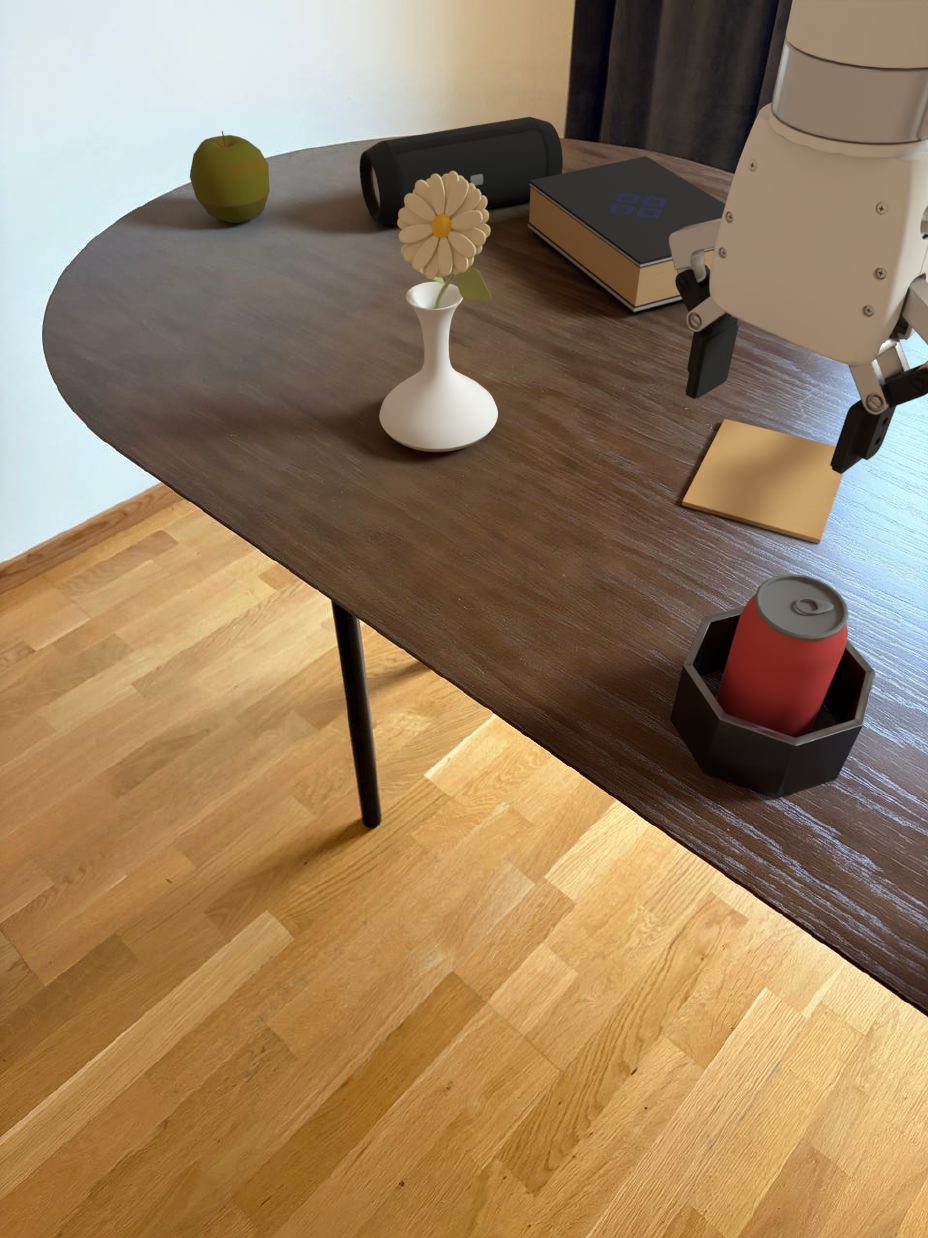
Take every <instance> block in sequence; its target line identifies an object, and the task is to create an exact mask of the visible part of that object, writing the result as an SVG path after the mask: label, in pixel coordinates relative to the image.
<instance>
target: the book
mask: <svg viewBox="0 0 928 1238" xmlns="http://www.w3.org/2000/svg"><path fill="white" fill-rule="evenodd" d="M529 181H530V182H529V186H530V187H531V190H530V200H529V216H528V217H529V218H528V222H527V226H526V227H527V228H528V229H530V231H532V232H533V233H534V234H536V235H537V236H538V237H540V239H542V240H543V241H544V242H545V243H546V244H548V245H549V246H551V247H552V248H553V249H554V250H556V251H557V252H558V253H559V254H561V255H562V256H563V257H564V258H565V259H567V260H568V261H569V262H570V263H572V264H573V265H574V266H576V268H578V269H579V270H580V271H582V273H584V274H585V275H586V276H588V277H589V278H590V279H591V280H593V281H594V282H595V283H597V284H598V285H599V286H600V287H601V288H603V289H604V290H605V291H607V293H609V294H610V295H611V296H613V297H614V298H615V299H616V300H618V302H620V303H621V304H623V305H624V306H625V307H626V308H628V309H629V310H630V311H631V312H633V313H637V312H642V311H645V310H648V309H653V308H657V307H661V306H664V305H667V304H672V303H675V302H678V301H683V300H682V298H681V296H680V293H679V291H678V289H677V287H676V284H675V280H676V276H677V275H678V273H677V270H675V268H674V264H673V259H672V255H671V250H670V246H669V236H670V235H671V234H672V233H674V232H676V231H678V230H680V229H682V228H684V227H686V226H690V225H694V224H698V223H703V222H707V221H711V220H715V219H720V218H722V215H723V212H724V208H725V204H726V203H725V202H723V201H721V200H719V199H718V198H716V197H714V196H713V195H711V194H709V192H706V191H705V190H703V189H701V188H700V187H698V186H696V185H694V184H693V183H691V182H690V181H688V180H687V179H685V178H683V177H682V176H680V175H678V174H676V173H675V172H673V171H671V170H670V169H668V168H666V167H665V166H663V165H661V164H660V163H658V162H656V161H654V160H653V159H652V158H650V157H648V156H646V155H645V156H644V155H643V156H640V157H636V158H635V157H634V158H631V159H625V160H620V161H615V162H611V163H607V164H601V165H597V166H592V167H587V168H582V169H578V170H573V171H568V172H562V174H558V175H553V176H548V177H544V178H539V179H534V180H529ZM714 249H715V248H710V249H705V250H704V257H705V260H704V264H705V265H706V266H708V268H709V269H710V272H711V264H712V259H713V253H714Z"/></svg>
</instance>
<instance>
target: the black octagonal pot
mask: <svg viewBox="0 0 928 1238" xmlns="http://www.w3.org/2000/svg"><path fill="white" fill-rule="evenodd" d="M745 606H746V605H744V606H740V607H737V608H732V609H730V610H726V611H722V612H719V613H715V614H711V615H708V616H704V617H703V618H702V619H701V620H700V621H701V622H700V624H699V626H698V629H697V630H696V633H695V636H694V638H693V640H692V642H691V645H690V647H689V649H688V652H687V653H686V657H685V659H684V662H683V663H682V668H681V671H680V675H679V679H678V683H677V688H676V691H675V694H674V695H675V696H674V700H673V704H672V708H671V712H670V715H669V716H670V717H669V721H670V723H671V725H672V726H673V728H674V729H675V731H676V733H677V734H678V736H679V737H680V739H681V741H682V742H683V744H684V745H685V747H686V749H687V750H688V752H689V753H690V755H691V757H692V758H693V759H694V761H695V763H696V764H697V766H698V768H699V769H700V771H701V772H702V774H703V775H706V776H709V777H712V778H715V779H717V780H720V781H723V782H726V783H728V784H731V785H734V786H735V787H739V788H742V789H744V790H747V791H749V792H752V793H756V794H758V795H761V796H763V797H767V798H768V799H771V800H777V799H780V798H783V797H785V796H786V797H787V796H789V795H792V794H795V793H798V792H801V791H805V790H807V789H811V788H813V787H816V786H820V785H822V784H825V783H828V782H833V781H835V780H837V779H838V777H839V775H840V773H841V771H842V769H843V768H844V765H845V763H846V761H847V759H848V757H849V756H850V753H851V751H852V749H853V747H854V745H855V742H856V740H857V739H858V738H859V737H858V736H859V735H860V733H861V731H862V729H863V727H864V724H865V719H866V714H867V711H868V706H869V703H870V699H871V694H872V690H873V686H874V682H875V678H876V671H875V669H874V668H873V667H872V666H871V665H870V663H869V662H868V661H867V660H866V659H865V658H864V656H862V654H861V653H860V652H859V651H858V649H857V648H856V647H855V646H854V645H853V644H852V643H851V642H850V641H849V639H848V638H847V643H846V646H845V650H844V653H843V655H842V657H841V660H840V662H839V664H838V667H837V669H836V671H835V674H834V676H833V678H832V681H831V683H830V686H829V688H828V690H827V693H826V695H825V697H824V700H823V702H822V704H821V705H823V706H824V708H825V709H826V710H827V712H828V713H829V714H830V715H831V716H832V718H833V720H835V722H836V723H837V724H835V725H831V726H828V727H825V728H821V729H819V730H815V731H812V732H810V733H809V734H805V735H802V736H799V737H796V738H794V737H791V736H788V735H785V734H782V733H780V732H777V731H774V730H771V729H768V728H765V727H762V726H759V725H756V724H754V723H751V722H748V721H745V720H742V719H739V718H736V717H733V716H730V715H728V714H726V713H725V712H724V711H723V709H722V708H721V706H720V705H719V703H718V702H717V700H716V697H715V695H714V694H713V693H712V692H711V690H710V688H709V687H708V686H707V684H706V683H705V681H704V679H703V678H702V677H705V676H708V675H712V674H715V673H719V672H722V671H724V670H725V666H726V663H727V659H728V656H729V653H730V649H731V646H732V642H733V639H734V636H735V632H736V629H737V625H738V622H739V618H740V616H741V614H742V611H743V609H744V607H745Z"/></svg>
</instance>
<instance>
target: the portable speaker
mask: <svg viewBox="0 0 928 1238" xmlns="http://www.w3.org/2000/svg"><path fill="white" fill-rule="evenodd" d="M563 158H564V157H563V148H562V142H561V138H560V136H559V133H558V131H557V129H556V128H555V126H554V125H553V124H552V123H551V122H549V121H547V120H543V119H540V118H537V117H532V116H525V117H520V118H519V117H518V118H513V119H507V120H500V121H494V122H489V123H482V124H476V125H475V124H474V125H470V126H465V127H464V126H463V127H456V128H452V129H446V130H439V131H434V132H427V133H421V134H416V135H408V136H402V137H398V138H392V139H386V140H381V141H379V142H376V143H375V144H374V145H372V146H370V147H369V148H367V149H365V150H364V151H362V153H361V154H360V158H359V181H360V187H361V192H362V197H363V201H364V203H365V207H366V209H367V211H368V214H369V215H370V217H371V218H372V220H374V221H375V222H378V223H383V224H389V225H393V226H398V224H397V222H398V219H399V216H398V213H399V211H400V209H402V208H404V207H405V203H404V198H405V196H406V195H407V194H409V193H412V194H413V190H414V189H415V184H416V182H417V181H418V180H424V181H426V180H427V179H429V178H430V177H431V176H432V175H433V174H438V175H439V176H440V177H442V176H443V175H444V174H449V172H451V171H455V172H456V173H457V174H458V176H459V175H461V176H463V177H464V179H465V180H467V182H468V184H469V183H472V184H474V185H475V187H476V189H479V190H480V192H481V196H485V197H486V198H487V206H486V208H485V210H488V209H493V208H498V207H499V208H500V207H503V206H508V205H514V204H520V203H525V202H528V201H529V202H530V190H531V187H530V186H529V182H530V181H529V180H534V179H539V178H544V177H548V176H553V175H558V174H563V167H564V166H563V165H564V159H563Z"/></svg>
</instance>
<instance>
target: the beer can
mask: <svg viewBox="0 0 928 1238" xmlns="http://www.w3.org/2000/svg"><path fill="white" fill-rule="evenodd" d="M744 606H745V607H744ZM744 606H743V607H744V609H743V611H742V614H741V616H740V618H739V622H738V625H737V629H736V632H735V636H734V639H733V642H732V646H731V649H730V653H729V656H728V659H727V663H726V666H725V670H723V674H722V677H721V679H720V684H719V687H718V691H717V694H716V697H715V699H716V700H717V702H718V703H719V705H720V706H721V708H722V709H723V711H724V712H725V713H726V714H728V715H730V716H733V717H736V718H739V719H742V720H745V721H748V722H751V723H754V724H756V725H759V726H762V727H765V728H768V729H771V730H774V731H777V732H780V733H782V734H785V735H788V736H791V737H794V738H796V737H799V736H802V735H805V734H809V733H811V731H812V728H813V726H814V723H815V720H816V718H817V716H818V714H819V712H820V709H821V706H822V705H823V704H822V702H823V700H824V697H825V695H826V693H827V690H828V688H829V686H830V683H831V681H832V678H833V676H834V674H835V671H836V669H837V667H838V664H839V662H840V660H841V657H842V655H843V653H844V650H845V646H846V643H847V639H848V638H849V637H848V635H849V633H848V625H847V622H848V619H849V608H848V604H847V603H846V601H845V600H844V598H843V596H842V594H840V593H839V592H838V591H837V590H836V589H834V587H832V586H831V585H829V584H827V583H825V581H822V580H821V579H818V578H815V577H812V576H809V575H805V574H796V573H788V574H780V575H775V576H773V577H769V578H768V579H766V580H765V581H763V582H762V583H761V584H760V585H759V586H758V588H757V590H756V592H755V594H754V595H753V596H752V597H751V598H750V599H749V600H748V601H747V602H746V604H745V605H744Z"/></svg>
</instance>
